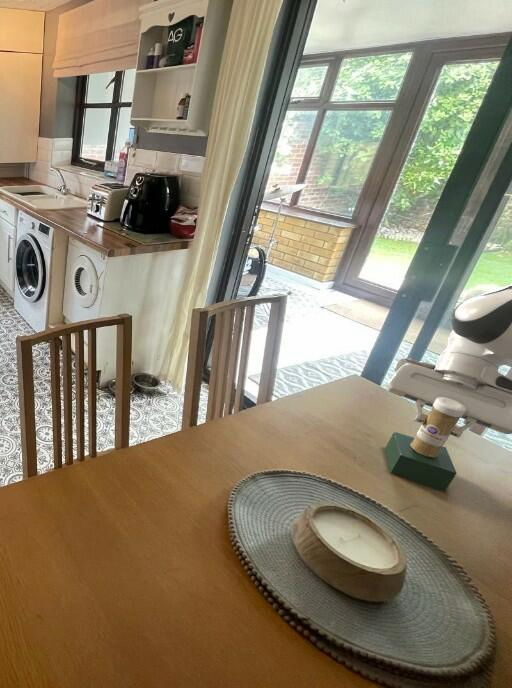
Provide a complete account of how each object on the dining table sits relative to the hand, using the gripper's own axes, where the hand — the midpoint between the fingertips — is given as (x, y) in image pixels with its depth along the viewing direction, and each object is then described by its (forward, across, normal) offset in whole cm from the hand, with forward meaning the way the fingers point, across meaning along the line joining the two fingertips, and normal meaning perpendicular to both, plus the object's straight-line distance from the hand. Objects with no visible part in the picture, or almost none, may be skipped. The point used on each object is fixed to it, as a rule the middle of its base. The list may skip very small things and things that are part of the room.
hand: (436, 428), depth 89 cm
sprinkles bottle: (+4, 0, +6) cm, 7 cm away
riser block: (+8, 0, +9) cm, 12 cm away
